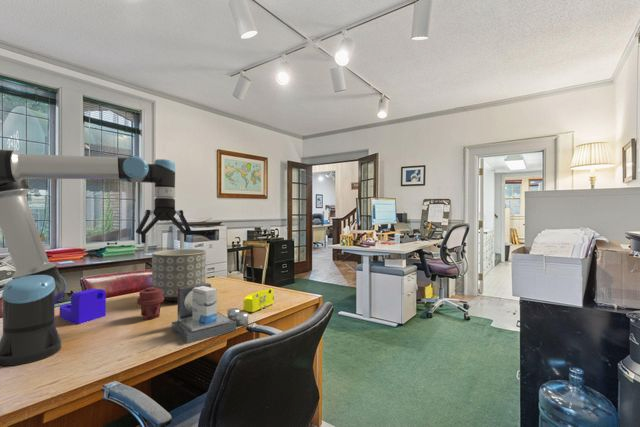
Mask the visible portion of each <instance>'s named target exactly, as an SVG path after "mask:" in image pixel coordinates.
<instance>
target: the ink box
mask: <svg viewBox="0 0 640 427" xmlns="http://www.w3.org/2000/svg"><path fill="white" fill-rule="evenodd" d="M217 291H218V290H217V289H216V288H214V287H211V288H210V287H206V286H201V287H195V288H193V319H194V320H197V321H200V322H203V323H209V322H212V321H215V320H217V310H218V309H217V305H218V304H217V303H218V302H217V299H218V298H217V295H218V294H217Z"/></svg>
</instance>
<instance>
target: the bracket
mask: <svg viewBox="0 0 640 427" xmlns="http://www.w3.org/2000/svg"><path fill="white" fill-rule="evenodd" d="M106 299H107V293H106V291H105V290H104V289H102V288H90V289H86V290H81V291H77V292H74V293H73V294H72V295H71V297H70V304H63V305H60V306H59V318H61V319H63V320H65V321H66V322H68V323H70V324H73V323H75V325H82V324H85V323H88V322H91V321H93V320H98V319H99V318H103V317H106V316H107V310H106V309H107V302H106V301H107V300H106ZM87 321H88V322H87ZM84 322H85V323H84ZM81 323H82V324H81Z"/></svg>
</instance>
